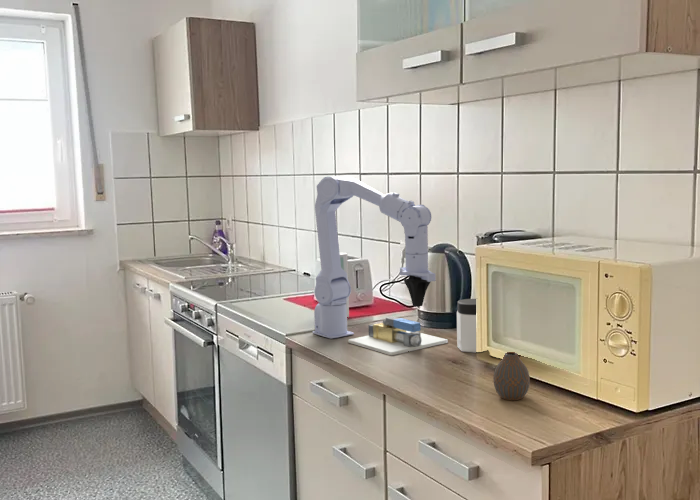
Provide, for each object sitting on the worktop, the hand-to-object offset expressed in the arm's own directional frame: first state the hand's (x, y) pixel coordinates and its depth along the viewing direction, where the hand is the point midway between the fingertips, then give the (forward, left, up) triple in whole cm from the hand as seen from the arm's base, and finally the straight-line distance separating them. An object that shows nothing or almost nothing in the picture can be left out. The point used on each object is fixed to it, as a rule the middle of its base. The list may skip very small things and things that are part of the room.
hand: (417, 306), depth 177 cm
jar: (+12, +8, -11) cm, 18 cm away
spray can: (-44, +6, -11) cm, 46 cm away
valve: (-6, -3, -10) cm, 12 cm away
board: (-6, -2, -10) cm, 12 cm away
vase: (+43, -14, -11) cm, 46 cm away
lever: (-4, -3, -6) cm, 7 cm away
